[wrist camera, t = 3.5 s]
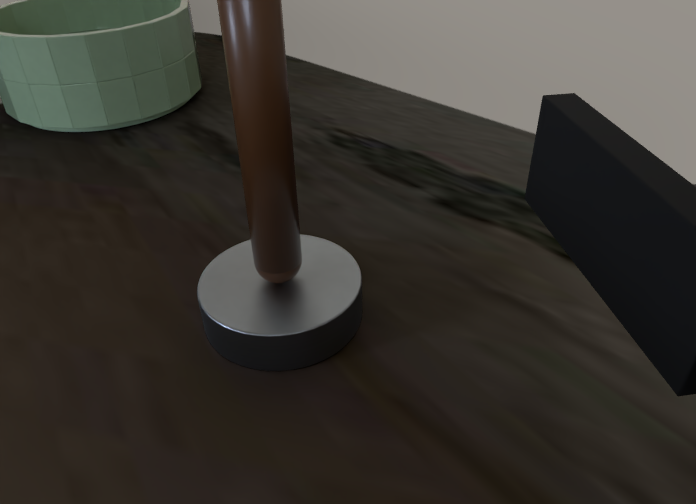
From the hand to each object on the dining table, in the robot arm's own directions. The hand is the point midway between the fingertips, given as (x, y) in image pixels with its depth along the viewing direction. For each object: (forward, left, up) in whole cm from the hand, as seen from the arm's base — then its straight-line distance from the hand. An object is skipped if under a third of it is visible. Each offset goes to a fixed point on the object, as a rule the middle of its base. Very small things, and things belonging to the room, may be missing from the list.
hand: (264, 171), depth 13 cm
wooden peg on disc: (+3, +7, -11) cm, 14 cm away
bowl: (+1, +39, -11) cm, 41 cm away
